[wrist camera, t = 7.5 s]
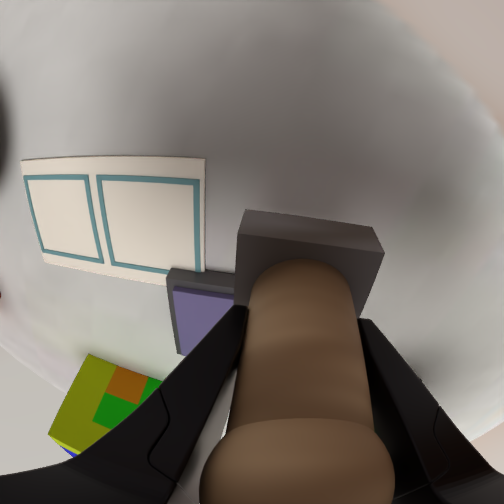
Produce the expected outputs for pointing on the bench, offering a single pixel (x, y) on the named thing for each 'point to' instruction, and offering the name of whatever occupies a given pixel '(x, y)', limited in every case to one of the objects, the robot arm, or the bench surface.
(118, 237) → the print card
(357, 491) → the stamp
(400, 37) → the bench surface
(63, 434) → the puzzle toy
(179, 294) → the ink pad
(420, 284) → the bench surface
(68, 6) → the bench surface
